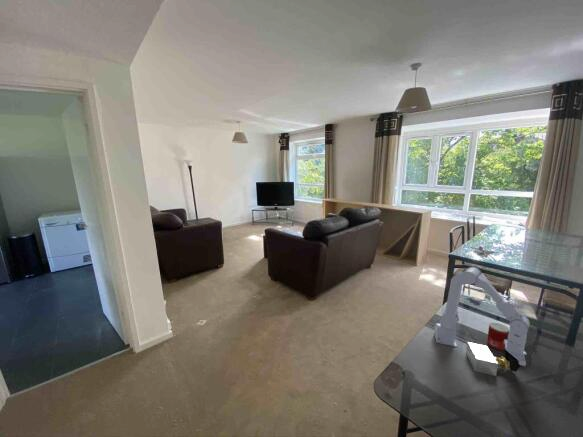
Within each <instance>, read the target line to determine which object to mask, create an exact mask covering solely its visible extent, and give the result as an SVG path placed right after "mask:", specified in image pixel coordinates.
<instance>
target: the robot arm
mask: <svg viewBox="0 0 583 437" xmlns="http://www.w3.org/2000/svg"><path fill="white" fill-rule="evenodd" d="M463 285H473V286H474V287H477V288H481V289H483V291H485V292H484V293H486V294H488V296H489V297H491V299H492V300H493V301H494V302H495V307H496V308H497V310H498V311H499V312H501V314H502V315H503V316H504V317H505V319H506V320H507V321H508V322H509V326H510V328H509V334H508V340H504V344H505V348H504V347H503V348H502V349H503V351H502V352H503V353H504V357H505V358H506V360H507V361H510V368H509V370H510V372H518V370H519V369H520V368H521V366H524V367H526V365H527V362H526V358H525V356H527V352H526V350H525V347H526V342H527V338H528V337H527V336H528V331H529V327H530V324H531V323H530V320H529V318H528V317H527V316H526V315H523V313H521V312H520V311H519V310H518V309H517V308H516V307H515V303H514V302H510V300H507V299H505V298H503V296H502V295H501V294H500V293H499V292H498V290H497V289H496V287H494V285H493V284H492V283H491V282H490V281H489V280H488V278H487V277H486V276H485V274H484V273H482V271H481V270H480V269H479V268H477V267H474V266H473V267H472V266H471V267H467V268H464V269H463V270H461V271H460V272H459V273H457V274H455V275H454V276H453V277H452V278H451V280H450V284H449V290H448V295H447V300H446V306H445V310H444V311H443V314H442V317H441V318H439V322H436V323H435V325H434V330H433V335H434V339H435V341H436V343H438V344H442V345H446V346H450V347H453V348H454V347H455V348H458V345H457V343H456V335H457V323H458V322H459V320H460V318H459V317H460V316H459V314H458V313H459V311H458V308H459V304H460V299H461V298H460V297H461V293H462V289H463Z"/></svg>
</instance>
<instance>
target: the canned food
mask: <svg viewBox="0 0 583 437" xmlns="http://www.w3.org/2000/svg"><path fill="white" fill-rule="evenodd" d="M509 330H510V328H509V327H507V326H506V325H503V324H502V323H497V322H490V323H489V325H488V332H487V340H486V341H487V344H488V346H490V347H491V348H492V349H494V350H497V351H501V352H504V351H503V349H502V348H503V347H504V348H505V344H504V340H508V334H509Z"/></svg>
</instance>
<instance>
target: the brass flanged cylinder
mask: <svg viewBox="0 0 583 437" xmlns="http://www.w3.org/2000/svg"><path fill="white" fill-rule="evenodd" d="M494 358H495V360H496V361H497V363H498V368H501V369H502V371H507V370H508V369H510V361H507V360H506V358H505V356H502V355H501V356H494Z"/></svg>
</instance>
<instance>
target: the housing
mask: <svg viewBox="0 0 583 437" xmlns="http://www.w3.org/2000/svg"><path fill="white" fill-rule="evenodd" d="M489 348H490V347H488V346H487V345H485V344H480V343H476V342H475V343H474V342H470V341H467V343H466V350H465V353H466V357H467V358H468V361H469V362H470V365H471V366H472V369H473V371H474V372H478V373H482V374H486V375H489V376H493V377H497V372H498V368H499V367H498V363H497V361H496V360H495V358H494V357H495V356H494V355H493V352H491V350H490V349H489Z"/></svg>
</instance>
